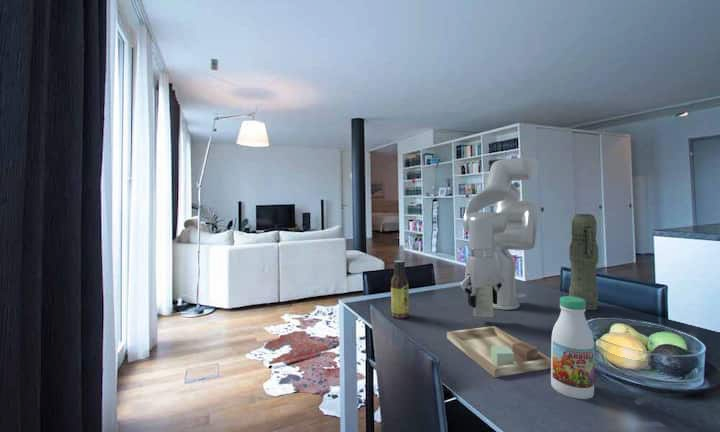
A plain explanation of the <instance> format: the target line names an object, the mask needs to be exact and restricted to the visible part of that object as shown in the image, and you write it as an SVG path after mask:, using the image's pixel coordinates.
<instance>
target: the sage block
mask: <svg viewBox="0 0 720 432" xmlns="http://www.w3.org/2000/svg"><path fill="white" fill-rule="evenodd" d="M491 363H492V364H493V365H495V366H502V365H508V364H514V353H513V352H512V351H511V350H510V349H509V348H508V346H491Z"/></svg>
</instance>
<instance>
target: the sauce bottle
mask: <svg viewBox="0 0 720 432" xmlns="http://www.w3.org/2000/svg"><path fill="white" fill-rule="evenodd" d="M405 266H406V261H405V260H399V259H398V260H394V261H393V267H394V268H393V270H394V272H393V276H392V277H391V280H390V286H391V287H390V298H391V299H390V300H391V301H390V305H391V308H390V309H391V316H392V318H393V317H394V318H395V319H405V318H408V317H409V315H410V313H409V312H410V308H409V307H410V305H409V304H410V300H409V296H410V295H409V293H410V292H409V281H408V278H407V275H406V270H405Z"/></svg>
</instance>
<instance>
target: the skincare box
mask: <svg viewBox="0 0 720 432" xmlns="http://www.w3.org/2000/svg"><path fill="white" fill-rule="evenodd" d="M474 296H476V307H475V308H473V316H474V317H484V318H485V317H488V318H493V317H494V308H493V291H492V280H490V281H485V284H484V287H482V288H477V289H476V292H475V294H474Z"/></svg>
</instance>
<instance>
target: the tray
mask: <svg viewBox="0 0 720 432" xmlns="http://www.w3.org/2000/svg"><path fill="white" fill-rule="evenodd" d="M446 339H447V340H448V341H450V342H451V343H452V344H453V345H454V346H455V347H457V348H458V349H460V350H461V351H462V352H463V353H464V354H466V356H468V357H469V358H470V359H472V360H473V361H474V362H475V363H476V364H478V366H480V367H482V369H484V370H485V371H486V372H487V373H489V374H490V375H491V376H492V377H493V378H499V377H505V376H511V375H517V374H523V373H529V372H530V373H531V372H535V371H541V370H546V369H547V370H548V369H551V357H549V356H547V355H546V354H544V353H542V352H541V351H539V350H538V360H533V361H527V362H520V363H517V362H515V361H514V364H508V365H502V366H495V365H493V364H492V363H491V346H508V348H509V349H510V350H511V351H512V345H513V344H517V343H521V342H522V341H521V340H519V339H518V338H516V337H515V336H512V335H511V334H509V333H507V332H505V331H504V330H502V329H500V328H499V327H497V326H496V325H493V326H492V325H491V326H490V325H489V326H484V327H477V328H476V327H475V328H468V329H467V328H466V329H459V330H452V331H451V330H450V331H446Z"/></svg>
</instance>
